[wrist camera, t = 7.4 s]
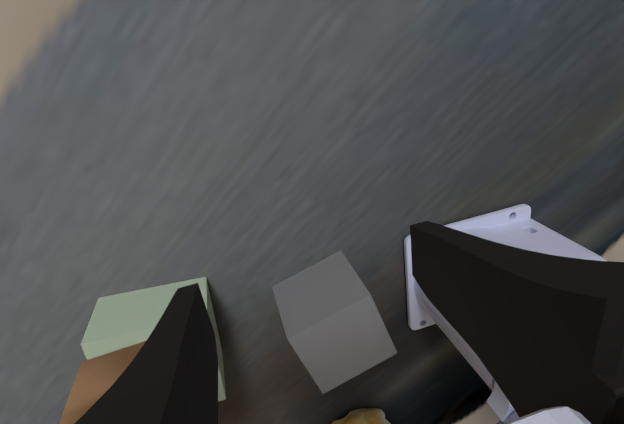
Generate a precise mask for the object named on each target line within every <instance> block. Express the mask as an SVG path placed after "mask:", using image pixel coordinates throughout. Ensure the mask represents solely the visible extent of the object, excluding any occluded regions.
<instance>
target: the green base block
mask: <svg viewBox="0 0 624 424" xmlns="http://www.w3.org/2000/svg"><path fill="white" fill-rule="evenodd" d="M196 283H198V285H199V288H200V291H201V294H202V297H203V300H204V303H205V306H206V309H207V312H208V314H209V317H210V320H211V323H212V326H213V329H214V332H215V339H216V347H217V355H218V401H222V400H226V393H225V380H224V366H223V352H222V348H221V343H220V339H219V334H218V329H217V325H216V320H215V315H214V311H213V306H212V302H211V297H210V292H209V288H208V283H207V278H206V277H203V278H197V279H192V280H187V281H182V282H177V283H172V284H167V285H162V286H157V287H152V288H147V289H142V290H136V291H131V292H126V293H121V294H116V295H111V296H106V297H101V298H98V301H97V303H96V306H95V309H94V311H93V314H92V316H91V319H90V322H89V324H88V327H87V329H86V332H85V334H84V337H83V340H82V342H81V346H82V349H83V351H84V354H85V356H86V359H87V360H88V359H92V358H95V357H98V356H101V355H104V354H107V353H110V352H113V351H116V350H119V349H122V348H125V347H128V346H131V345H134V344H138V343H141V342H144V341H147V339H148V338H149V336H150V334H151V333H152V331H153V330H154V328H155V326H156V325H157V323H158V321H159V320H160V318H161V317H162V315H163V313H164V311H165V310H166V308H167V306H168V304H169V303H170V301H171V299H172V297H173V295H174V294H175V292H176V291H177V289H178V288H181V287H184V286H188V285H192V284H196Z"/></svg>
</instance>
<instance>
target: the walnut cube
mask: <svg viewBox="0 0 624 424" xmlns="http://www.w3.org/2000/svg"><path fill="white" fill-rule="evenodd" d="M145 342H146V341H144V342H141V343H138V344H134V345H131V346H128V347H125V348H122V349H119V350H116V351H113V352H110V353H107V354H104V355H101V356H98V357H95V358H92V359H88V360H85V361H82V362H81V364H80V367H79V370H78V372H77V375H76V378H75V381H74V383H73V386H72V389H71V392H70V395H69V397H68V400H67V403H66V406H65V408H64V411H63V414H62V417H61V420H60V422H59V424H74V423H75V422H76V421H78V420H79V419H80V418H81V417H82V416H83V415H84V414H85V413H86V412H87V411H88V410H89V409H90V408H91V407H92V406H93V405H94V404H95V403H96V401H97V400H98V399H99V398H100V397H101V396H102V395H103V394H104V393H105V392H106V391H107V390H108V389H109V388H110V387H111V386H112V385H113V383H114V382H115V381H116V380H117V379H118V378H119V376H120V375H121V374H122V373H123V372H124V370H125V369H126V368H127V367H128V366H129V364H130V363H131V362H132V360H133V359H134V358H135V356H136V355H137V353H138V352H139V351H140V349H141V348H142V346H143V345H144V343H145Z"/></svg>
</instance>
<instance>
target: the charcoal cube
mask: <svg viewBox="0 0 624 424" xmlns="http://www.w3.org/2000/svg"><path fill="white" fill-rule="evenodd" d="M272 289H273V292H274V296H275V299H276V303H277V306H278V309H279V313H280V316H281V320H282V323H283V327H284V330H285V333H286V337H287V340H288V341H289V343H290V344H291V346H292V347H293V349H294V350H295V352H296V353H297V355H298V357H299V358H300V360H301V361H302V363H303V364H304V366H305V367H306V369H307V370H308V372H309V373H310V375H311V376H312V378H313V380H314V381H315V383H316V384H317V386H318V387H319V389H320V390H321V392H322V393H323V394H324V393H326V392H328V391H330V390H332V389H333V388H335V387H337V386H339V385H341V384H343V383H344V382H346V381H348V380H350V379H352V378H353V377H355V376H357V375H359V374H361V373H363V372H364V371H366V370H368V369H370V368H372V367H373V366H375V365H377V364H379V363H381V362H383V361H384V360H386V359H388V358H390V357H392V356H393V355H395V354H397V351H396V349H395V346H394V344H393V342H392V340H391V338H390V336H389V333H388V331H387V329H386V327H385V325H384V323H383V320H382V318H381V316H380V314H379V312H378V310H377V307H376V305H375V303H374V301H373V299H372V297H371V294H370V293H369V291H368V290H367V288H366V287H365V285H364V284H363V282H362V281H361V279H360V278H359V276H358V275H357V273H356V272H355V270H354V269H353V267H352V266H351V264H350V263H349V261H348V260H347V258H346V257H345V255H344V254H343V252H342V251H341V250H340V251H338V252H337V253H335V254H333V255H331V256H329V257H327V258H325V259H323V260H322V261H320V262H318V263H316V264H314V265H312V266H310V267H308V268H307V269H305V270H303V271H301V272H299V273H297V274H295V275H293V276H292V277H290V278H288V279H286V280H284V281H282V282H280V283H278V284H276V285H275V286H273V287H272Z"/></svg>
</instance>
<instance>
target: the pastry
mask: <svg viewBox="0 0 624 424" xmlns="http://www.w3.org/2000/svg"><path fill="white" fill-rule="evenodd" d="M331 424H391V423H390V422H388V420H386V419H385V413H384V412H383V411H382V410H381V409H379V408H359V409H356V410H353V411H350V412H349V413H348V415H347V416H345V417H344V418H342V419H340V420H337V419H336V420H335V421H333V422H332V423H331Z"/></svg>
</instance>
